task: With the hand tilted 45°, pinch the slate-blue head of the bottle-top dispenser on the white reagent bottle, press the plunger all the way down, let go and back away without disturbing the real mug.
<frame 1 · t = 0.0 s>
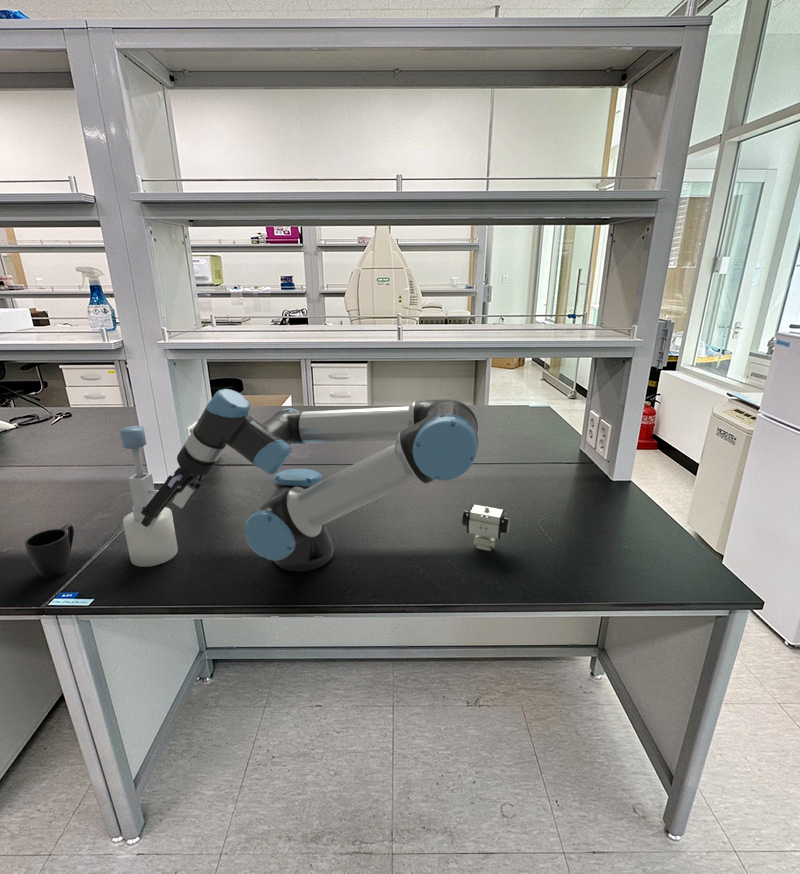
hand: (160, 518, 112), 15 cm above the table, tool tilted 35°, fingers open, 13 cm apart
reagent bottle: (154, 554, 125), on the table
plunger: (136, 454, 116), point 28 cm above the table, slide at 6.0 cm
pneumatic valve: (483, 548, 129), on the table
mug: (61, 568, 120), on the table
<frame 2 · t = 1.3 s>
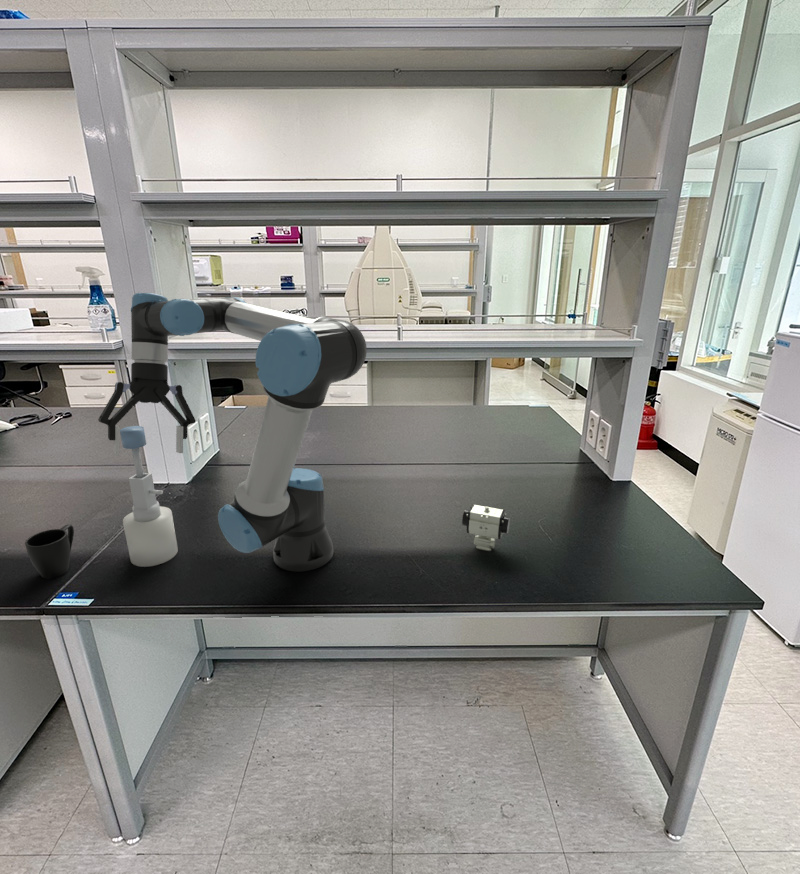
hand: (149, 453, 114), 29 cm above the table, tool pointing down, fingers open, 13 cm apart
nothing on the table moved.
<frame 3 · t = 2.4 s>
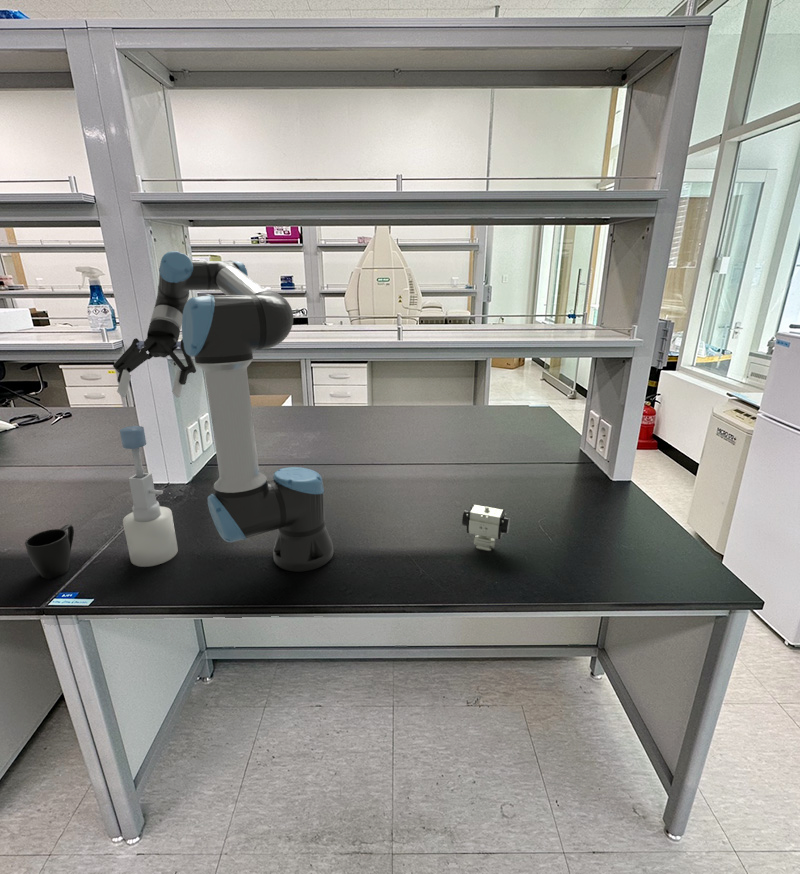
hand: (148, 394, 122), 40 cm above the table, tool tilted 45°, fingers open, 13 cm apart
nothing on the table moved.
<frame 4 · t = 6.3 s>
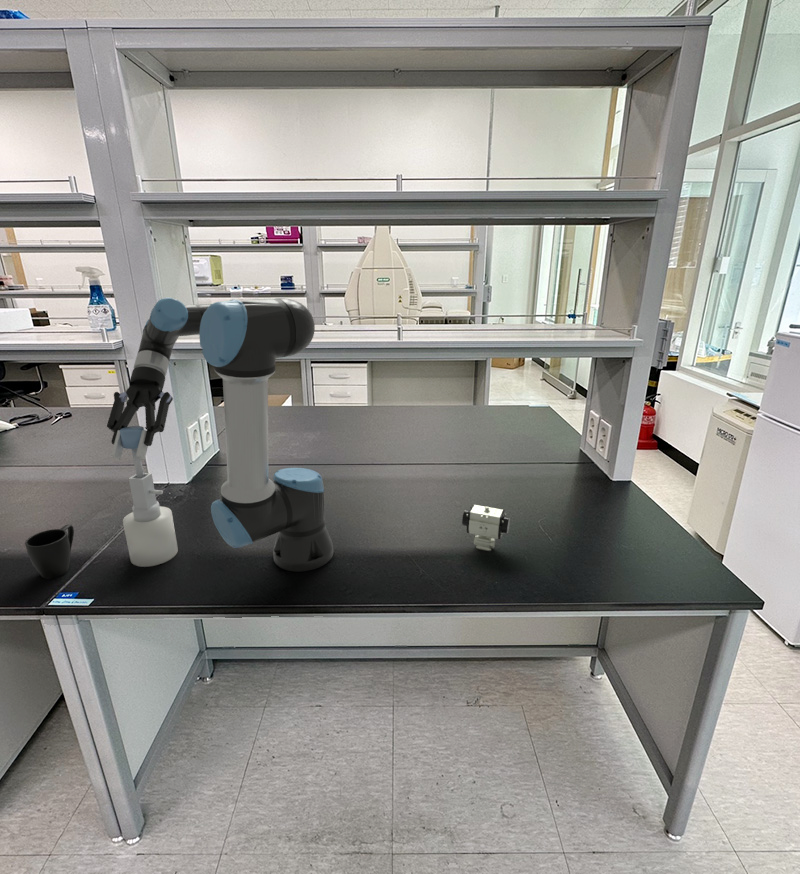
hand: (128, 457, 113), 28 cm above the table, tool tilted 45°, fingers closed on plunger, 5 cm apart
plunger: (136, 454, 116), point 27 cm above the table, slide at 6.0 cm, touching gripper
everything else where it was.
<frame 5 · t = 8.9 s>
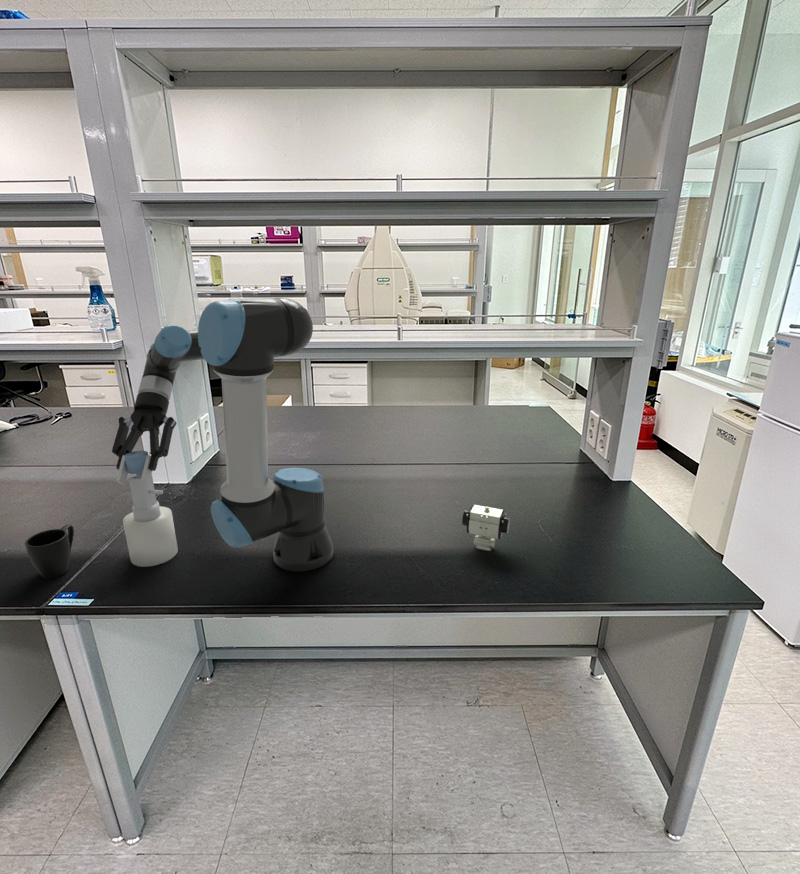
hand: (132, 482, 115), 22 cm above the table, tool tilted 45°, fingers closed on plunger, 5 cm apart
plunger: (140, 479, 119), point 21 cm above the table, slide at -0.4 cm, touching gripper
everything else where it was.
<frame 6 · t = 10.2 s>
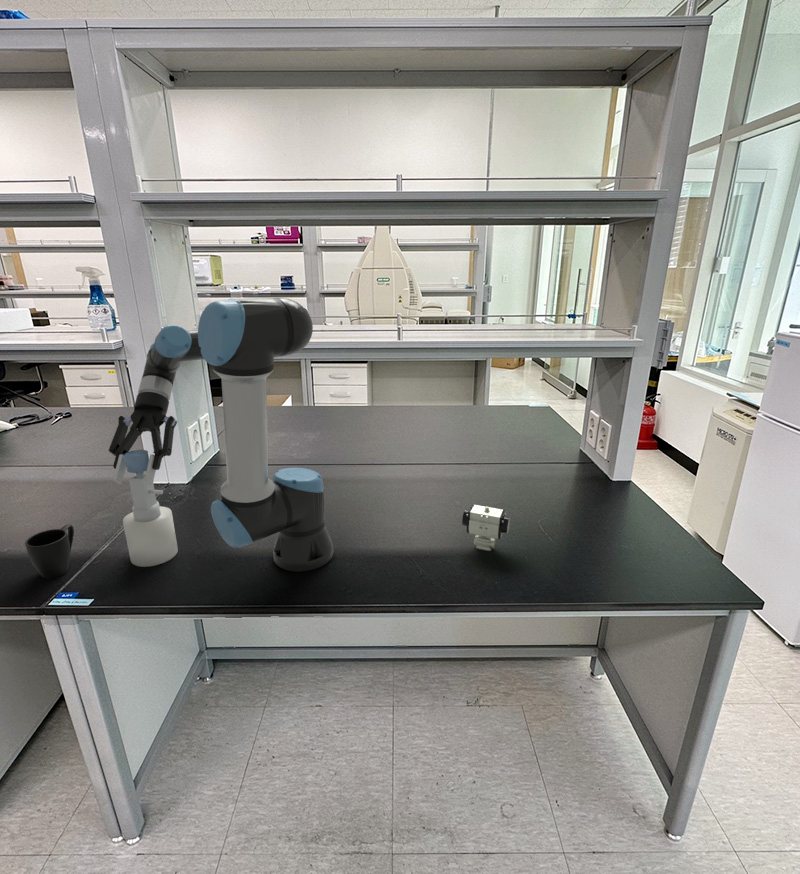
hand: (133, 481, 115), 22 cm above the table, tool tilted 45°, fingers open, 7 cm apart
plunger: (140, 478, 118), point 21 cm above the table, slide at -0.1 cm
everything else where it was.
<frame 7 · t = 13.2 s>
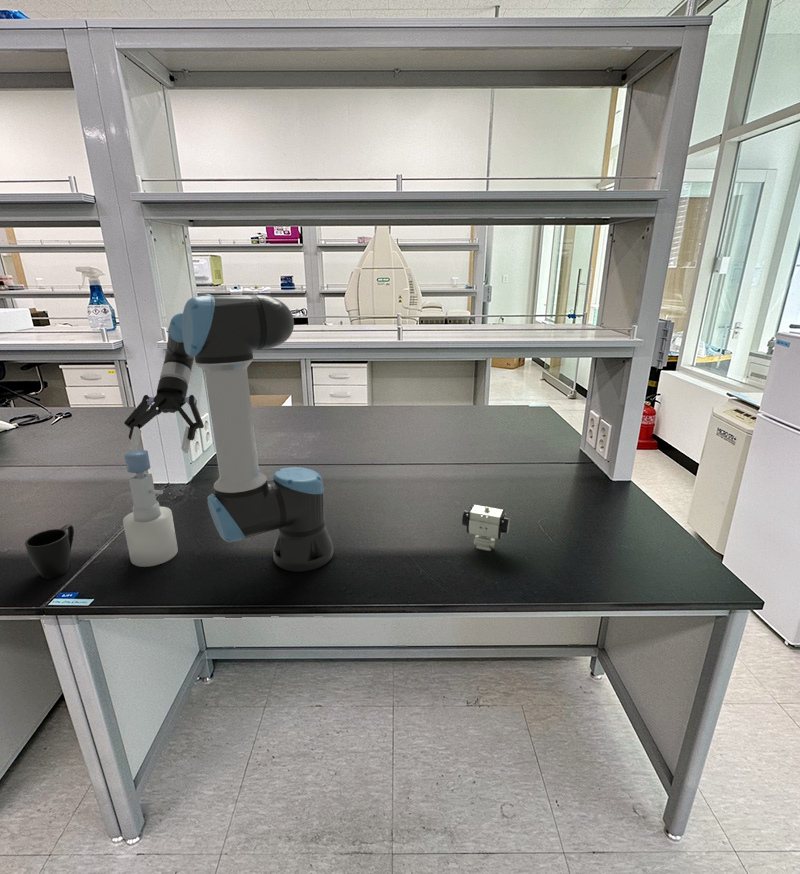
hand: (158, 451, 128), 24 cm above the table, tool tilted 45°, fingers open, 13 cm apart
nothing on the table moved.
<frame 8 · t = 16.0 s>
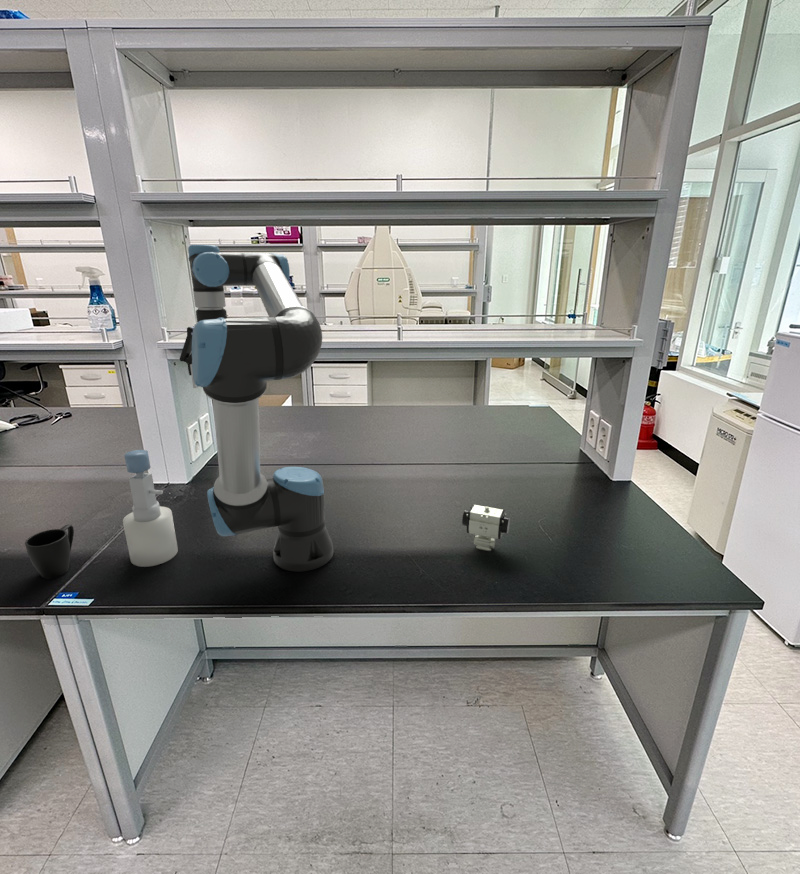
hand: (220, 388, 134), 39 cm above the table, tool pointing down, fingers open, 13 cm apart
nothing on the table moved.
at the end: plunger slide at -0.1 cm; the gripper is holding nothing; mug moved 0.2 cm from its start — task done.
